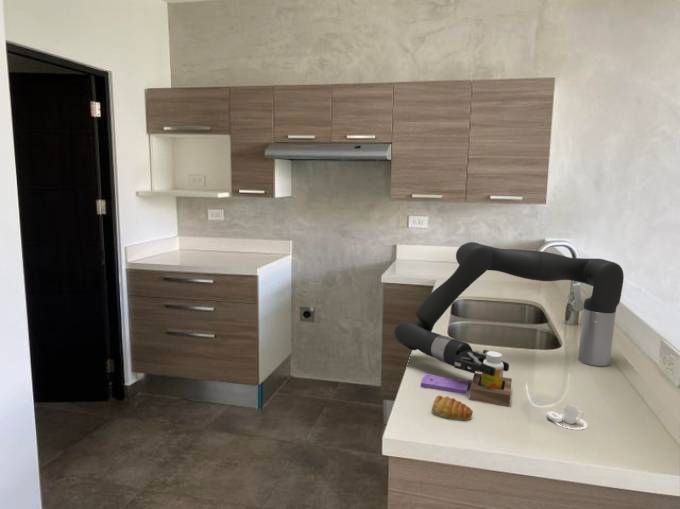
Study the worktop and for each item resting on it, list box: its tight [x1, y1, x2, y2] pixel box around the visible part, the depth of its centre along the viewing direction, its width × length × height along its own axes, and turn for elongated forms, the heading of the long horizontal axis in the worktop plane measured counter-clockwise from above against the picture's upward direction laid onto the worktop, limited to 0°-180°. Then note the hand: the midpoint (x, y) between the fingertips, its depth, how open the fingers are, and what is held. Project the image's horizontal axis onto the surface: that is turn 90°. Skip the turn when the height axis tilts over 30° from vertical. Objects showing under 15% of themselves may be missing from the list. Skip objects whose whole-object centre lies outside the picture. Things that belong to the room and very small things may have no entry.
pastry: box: [431, 394, 473, 421], centre depth 125 cm, size 9×7×4 cm
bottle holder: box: [469, 372, 513, 407], centre depth 138 cm, size 12×10×3 cm
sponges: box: [420, 373, 470, 395], centre depth 142 cm, size 7×13×2 cm, turn 71°
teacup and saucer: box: [546, 404, 589, 431], centre depth 123 cm, size 9×8×4 cm
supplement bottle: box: [481, 350, 504, 389], centre depth 137 cm, size 5×5×10 cm
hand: (501, 369), depth 135 cm, fingers closed on supplement bottle, 5 cm apart
